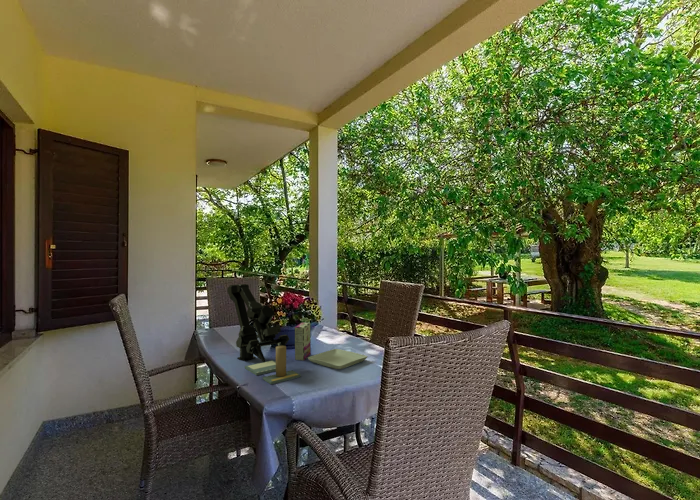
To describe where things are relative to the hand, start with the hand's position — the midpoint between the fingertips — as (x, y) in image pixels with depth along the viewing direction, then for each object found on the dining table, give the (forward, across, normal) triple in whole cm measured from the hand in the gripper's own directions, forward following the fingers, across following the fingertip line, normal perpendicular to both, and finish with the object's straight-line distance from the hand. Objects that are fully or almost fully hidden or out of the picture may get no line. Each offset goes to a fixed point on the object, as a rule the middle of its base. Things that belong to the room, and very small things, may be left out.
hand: (274, 360), depth 165 cm
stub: (+8, 0, 0) cm, 8 cm away
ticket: (-2, 0, +11) cm, 11 cm away
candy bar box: (-5, +23, +14) cm, 27 cm away
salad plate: (+8, +32, +2) cm, 33 cm away
